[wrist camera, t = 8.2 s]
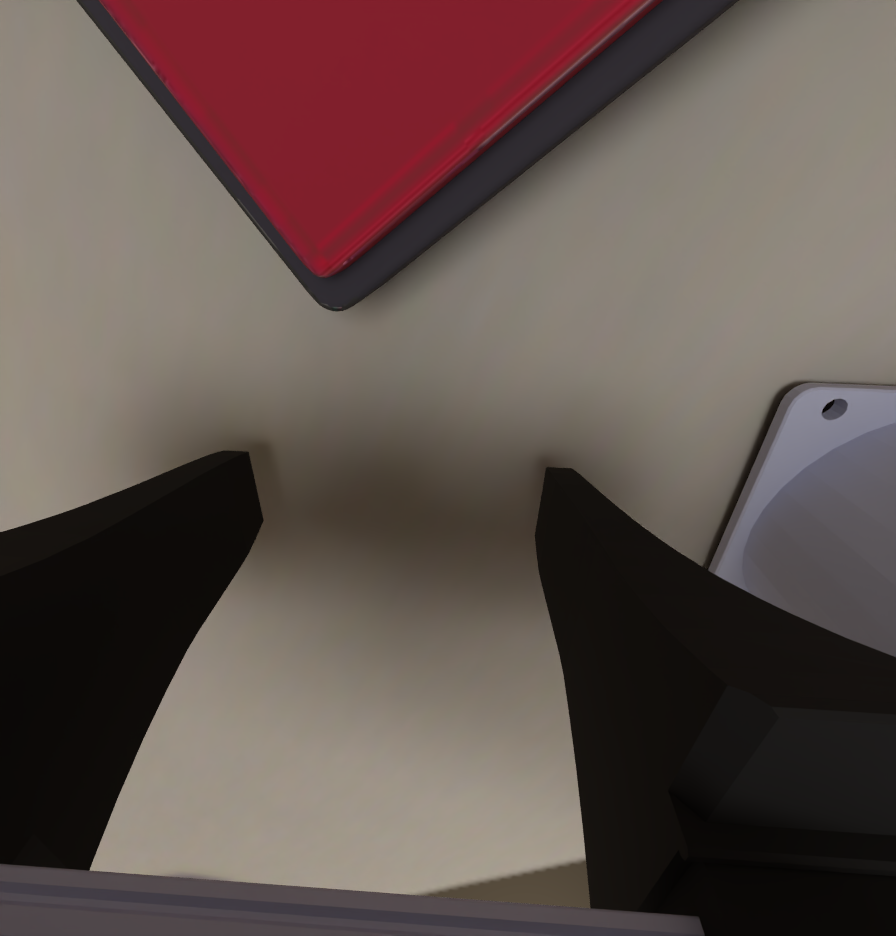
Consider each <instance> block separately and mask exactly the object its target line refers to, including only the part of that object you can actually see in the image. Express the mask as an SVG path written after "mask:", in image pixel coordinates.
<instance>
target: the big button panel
mask: <svg viewBox="0 0 896 936" xmlns="http://www.w3.org/2000/svg"><path fill="white" fill-rule="evenodd" d="M738 1H739V0H77V2H78V3H79V4H80V5H81V7H82V8H83V9H84V10H85V12H86V13H87V14H88V15H89V17H90V18H91V19H92V20H93V22H94V23H95V24H96V26H97V27H98V28H99V29H100V31H101V32H102V33H103V34H104V36H105V37H106V38H107V39H108V41H109V42H110V43H111V44H112V46H113V47H114V48H115V50H116V51H117V52H118V53H119V55H120V56H121V57H122V58H123V60H124V61H125V62H126V63H127V65H128V66H129V67H130V68H131V70H132V71H133V72H134V73H135V75H136V76H137V77H138V79H139V80H140V81H141V82H142V84H143V85H144V86H145V87H146V89H147V90H148V91H149V92H150V94H151V95H152V96H153V97H154V99H155V100H156V101H157V102H158V104H159V105H160V106H161V108H162V109H163V110H164V111H165V113H166V114H167V115H168V116H169V118H170V119H171V120H172V121H173V123H174V124H175V125H176V126H177V128H178V129H179V130H180V131H181V133H182V134H183V135H184V137H185V138H186V139H187V140H188V142H189V143H190V144H191V145H192V147H193V148H194V149H195V150H196V152H197V153H198V154H199V155H200V157H201V158H202V159H203V161H204V162H205V163H206V164H207V166H208V167H209V168H210V169H211V171H212V172H213V173H214V174H215V176H216V177H217V178H218V179H219V181H220V182H221V183H222V184H223V186H224V187H225V188H226V190H227V191H228V192H229V193H230V195H231V196H232V197H233V198H234V200H235V201H236V202H237V203H238V205H239V206H240V207H241V208H242V210H243V211H244V212H245V213H246V215H247V216H248V217H249V219H250V220H251V221H252V222H253V224H254V225H255V226H256V227H257V229H258V230H259V231H260V232H261V234H262V235H263V236H264V237H265V239H266V240H267V241H268V243H269V244H270V245H271V246H272V248H273V249H274V250H275V251H276V253H277V254H278V255H279V256H280V258H281V259H282V260H283V261H284V263H285V264H286V265H287V266H288V268H289V269H290V270H291V272H292V273H293V274H294V275H295V277H296V278H297V279H298V280H299V282H300V283H301V284H302V285H303V287H304V288H305V289H306V290H307V292H308V293H309V294H310V295H311V296H312V297H313V299H314V300H315V301H316V302H317V303H318V304H319V305H321V306H322V307H324V308H326V309H328V310H331V311H343V310H346V309H348V308H350V307H352V306H354V305H355V304H357V303H358V302H360V301H361V300H363V299H364V298H365V297H367V296H368V295H369V294H371V293H372V292H373V291H375V290H376V289H378V288H379V287H380V286H382V285H383V284H384V283H386V282H387V281H388V280H390V279H391V278H392V277H393V276H395V275H396V274H397V273H398V272H400V271H401V270H402V269H403V268H405V267H406V266H407V265H408V264H410V263H411V262H412V261H413V260H415V259H416V258H417V257H418V256H420V255H421V254H422V253H423V252H425V251H426V250H427V249H428V248H430V247H431V246H432V245H433V244H435V243H436V242H437V241H438V240H440V239H441V238H442V237H443V236H445V235H446V234H447V233H448V232H450V231H451V230H452V229H453V228H455V227H456V226H457V225H458V224H460V223H461V222H462V221H463V220H465V219H466V218H467V217H468V216H470V215H471V214H472V213H473V212H475V211H476V210H477V209H478V208H480V207H481V206H482V205H483V204H485V203H486V202H487V201H488V200H490V199H491V198H492V197H493V196H495V195H496V194H497V193H498V192H500V191H501V190H502V189H503V188H505V187H506V186H507V185H508V184H510V183H511V182H512V181H513V180H515V179H516V178H517V177H518V176H520V175H521V174H522V173H523V172H525V171H526V170H527V169H529V168H530V167H531V166H532V165H534V164H535V163H536V162H537V161H539V160H540V159H541V158H542V157H544V156H545V155H546V154H547V153H549V152H550V151H551V150H552V149H554V148H555V147H556V146H557V145H559V144H560V143H561V142H562V141H564V140H565V139H566V138H567V137H569V136H570V135H571V134H572V133H574V132H575V131H576V130H577V129H579V128H580V127H581V126H582V125H584V124H585V123H586V122H587V121H589V120H590V119H591V118H592V117H594V116H595V115H596V114H597V113H599V112H600V111H601V110H602V109H604V108H605V107H606V106H607V105H609V104H610V103H611V102H612V101H614V100H615V99H616V98H617V97H619V96H620V95H621V94H622V93H624V92H625V91H626V90H627V89H629V88H630V87H631V86H632V85H634V84H635V83H636V82H637V81H639V80H640V79H641V78H642V77H644V76H645V75H646V74H647V73H649V72H650V71H651V70H652V69H654V68H655V67H656V66H657V65H659V64H660V63H661V62H662V61H664V60H665V59H666V58H667V57H669V56H670V55H671V54H672V53H674V52H675V51H676V50H677V49H679V48H680V47H681V46H683V45H684V44H685V43H686V42H688V41H689V40H690V39H691V38H693V37H694V36H695V35H696V34H698V33H699V32H700V31H701V30H703V29H704V28H705V27H706V26H708V25H709V24H710V23H711V22H713V21H714V20H715V19H716V18H718V17H719V16H720V15H721V14H723V13H724V12H725V11H726V10H728V9H729V8H730V7H731V6H733V5H734V4H735V3H736V2H738Z"/></svg>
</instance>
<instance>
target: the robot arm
mask: <svg viewBox="0 0 896 936" xmlns="http://www.w3.org/2000/svg"><path fill="white" fill-rule="evenodd" d="M834 399H835V401H834V404H833V406H832V407H831V408H830V409H829V410H827V411H826V412H824V413H822V410H823V408H824V407H825V405H826V404H827V403H829V402H830V401H832V400H834ZM262 523H263V516H262V512H261V507H260V502H259V498H258V493H257V489H256V484H255V480H254V475H253V470H252V466H251V461H250V457H249V452H242V451H220V452H217V453H214V454H210V455H208V456H205V457H202V458H200V459H197V460H195V461H192V462H190V463H187V464H185V465H182V466H180V467H178V468H175V469H173V470H170V471H168V472H166V473H163V474H161V475H159V476H156V477H154V478H151V479H149V480H147V481H144V482H142V483H140V484H137V485H135V486H132V487H130V488H127V489H125V490H122V491H119V492H117V493H114V494H112V495H109V496H107V497H104V498H102V499H99V500H96V501H94V502H91V503H89V504H86V505H83V506H81V507H78V508H75V509H72V510H70V511H67V512H64V513H61V514H58V515H55V516H52V517H49V518H46V519H42V520H39V521H36V522H33V523H30V524H27V525H24V526H20V527H17V528H14V529H10V530H7V531H3V532H0V936H896V386H882V385H858V384H834V383H805V384H801V385H799V386H797V387H794V388H793V389H792V390H790V391H789V392H788V393H787V394H786V395H785V396H784V398H783V399H782V401H781V402H780V405H779V407H778V409H777V412H776V414H775V416H774V419H773V421H772V423H771V426H770V428H769V430H768V433H767V435H766V437H765V439H764V442H763V444H762V446H761V449H760V451H759V453H758V456H757V458H756V460H755V463H754V465H753V467H752V470H751V472H750V474H749V476H748V479H747V481H746V483H745V486H744V488H743V490H742V493H741V495H740V497H739V500H738V502H737V504H736V507H735V509H734V511H733V514H732V516H731V518H730V520H729V523H728V525H727V527H726V530H725V532H724V534H723V537H722V539H721V541H720V544H719V546H718V548H717V551H716V553H715V555H714V557H713V560H712V562H711V564H710V567H709V569H708V570H707V569H705V568H703V567H702V566H700V565H698V564H697V563H695V562H694V561H692V560H690V559H689V558H687V557H686V556H684V555H682V554H681V553H679V552H678V551H676V550H675V549H673V548H672V547H670V546H669V545H667V544H666V543H664V542H663V541H661V540H660V539H659V538H657V537H656V536H654V535H653V534H652V533H650V532H649V531H648V530H646V529H645V528H644V527H642V526H641V525H640V524H638V523H637V522H636V521H634V520H633V519H632V518H631V517H629V516H628V515H627V514H626V513H624V512H623V511H622V510H621V509H619V508H618V507H617V506H616V505H615V504H613V503H612V502H611V501H610V500H609V499H608V498H606V497H605V496H604V495H603V494H602V493H601V492H599V491H598V490H597V489H596V488H595V487H594V486H593V485H591V484H590V483H589V482H588V481H587V480H586V479H585V478H583V477H582V476H581V475H580V474H579V473H577V472H576V471H575V470H573V469H571V468H552V467H546V472H545V478H544V484H543V490H542V496H541V502H540V508H539V514H538V520H537V526H536V532H535V542H536V552H537V560H538V569H539V574H540V578H541V583H542V587H543V591H544V595H545V599H546V603H547V607H548V611H549V615H550V619H551V623H552V627H553V631H554V635H555V639H556V642H557V646H558V650H559V654H560V659H561V664H562V669H563V674H564V681H565V688H566V695H567V702H568V709H569V716H570V723H571V731H572V739H573V746H574V754H575V762H576V770H577V779H578V788H579V797H580V806H581V814H582V823H583V833H584V843H585V854H586V862H587V863H586V864H587V875H588V885H589V894H590V907H591V908H578V907H564V906H551V905H538V904H525V903H512V902H511V903H510V902H498V901H485V900H472V899H458V898H445V897H431V896H419V895H406V894H392V893H379V892H366V891H352V890H339V889H326V888H313V887H299V886H286V885H273V884H260V883H246V882H233V881H220V880H206V879H193V878H180V877H167V876H153V875H140V874H127V873H114V872H100V871H89V870H90V867H91V864H92V862H93V859H94V856H95V854H96V851H97V849H98V846H99V844H100V841H101V839H102V836H103V834H104V831H105V829H106V826H107V824H108V821H109V819H110V816H111V814H112V811H113V808H114V806H115V803H116V801H117V798H118V796H119V794H120V791H121V789H122V787H123V784H124V782H125V780H126V777H127V775H128V773H129V771H130V768H131V766H132V764H133V761H134V759H135V757H136V755H137V752H138V750H139V748H140V745H141V743H142V741H143V738H144V736H145V734H146V732H147V730H148V728H149V726H150V724H151V722H152V720H153V717H154V715H155V713H156V711H157V709H158V707H159V705H160V703H161V701H162V698H163V696H164V694H165V692H166V690H167V688H168V686H169V684H170V682H171V680H172V679H173V677H174V675H175V673H176V671H177V669H178V667H179V665H180V663H181V661H182V659H183V657H184V655H185V653H186V651H187V649H188V648H189V646H190V644H191V643H192V641H193V639H194V638H195V636H196V634H197V633H198V631H199V630H200V628H201V626H202V625H203V623H204V622H205V620H206V619H207V617H208V616H209V614H210V613H211V611H212V610H213V608H214V607H215V605H216V604H217V602H218V601H219V599H220V597H221V596H222V594H223V593H224V591H225V590H226V588H227V587H228V585H229V584H230V582H231V581H232V579H233V578H234V576H235V574H236V573H237V571H238V570H239V568H240V567H241V565H242V563H243V562H244V560H245V559H246V557H247V555H248V554H249V552H250V549H251V547H252V545H253V543H254V541H255V539H256V537H257V534H258V532H259V530H260V527H261V525H262Z"/></svg>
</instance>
